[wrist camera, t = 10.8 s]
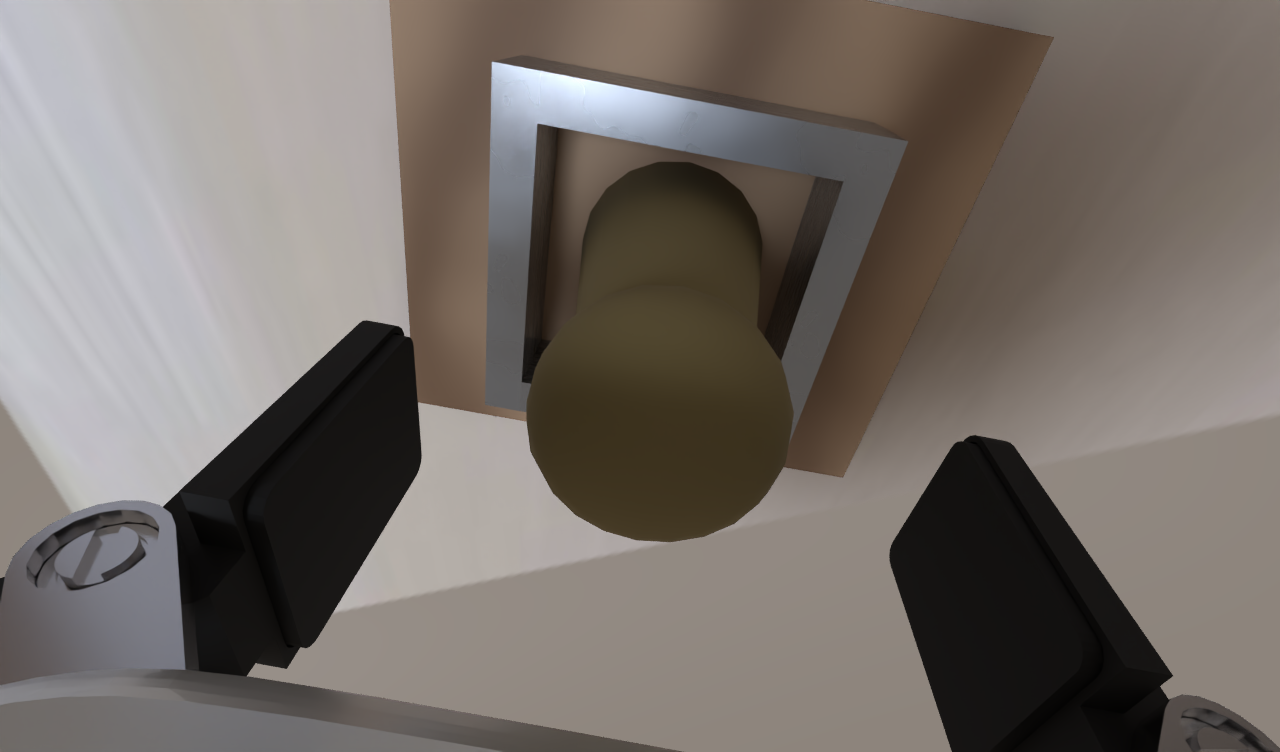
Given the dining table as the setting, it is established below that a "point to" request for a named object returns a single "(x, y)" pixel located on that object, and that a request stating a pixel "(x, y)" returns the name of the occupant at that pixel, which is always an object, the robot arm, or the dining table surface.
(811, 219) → the collar
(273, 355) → the dining table surface
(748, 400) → the cork
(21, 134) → the dining table surface
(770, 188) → the collar board
